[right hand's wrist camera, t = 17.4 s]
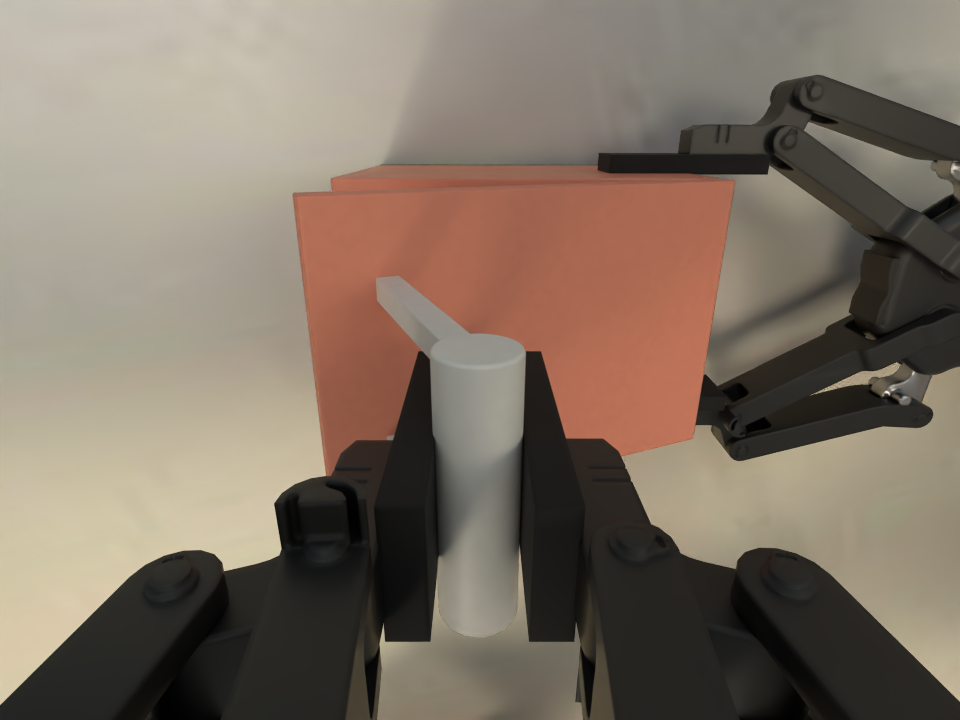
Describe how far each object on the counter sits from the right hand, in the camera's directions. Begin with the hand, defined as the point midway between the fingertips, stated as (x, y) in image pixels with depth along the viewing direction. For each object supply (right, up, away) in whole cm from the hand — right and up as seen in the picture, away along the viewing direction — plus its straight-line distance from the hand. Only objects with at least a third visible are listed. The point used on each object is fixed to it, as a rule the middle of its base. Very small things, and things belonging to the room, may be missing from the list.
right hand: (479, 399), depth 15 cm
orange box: (+2, +2, +4) cm, 5 cm away
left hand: (+5, +5, +11) cm, 13 cm away
